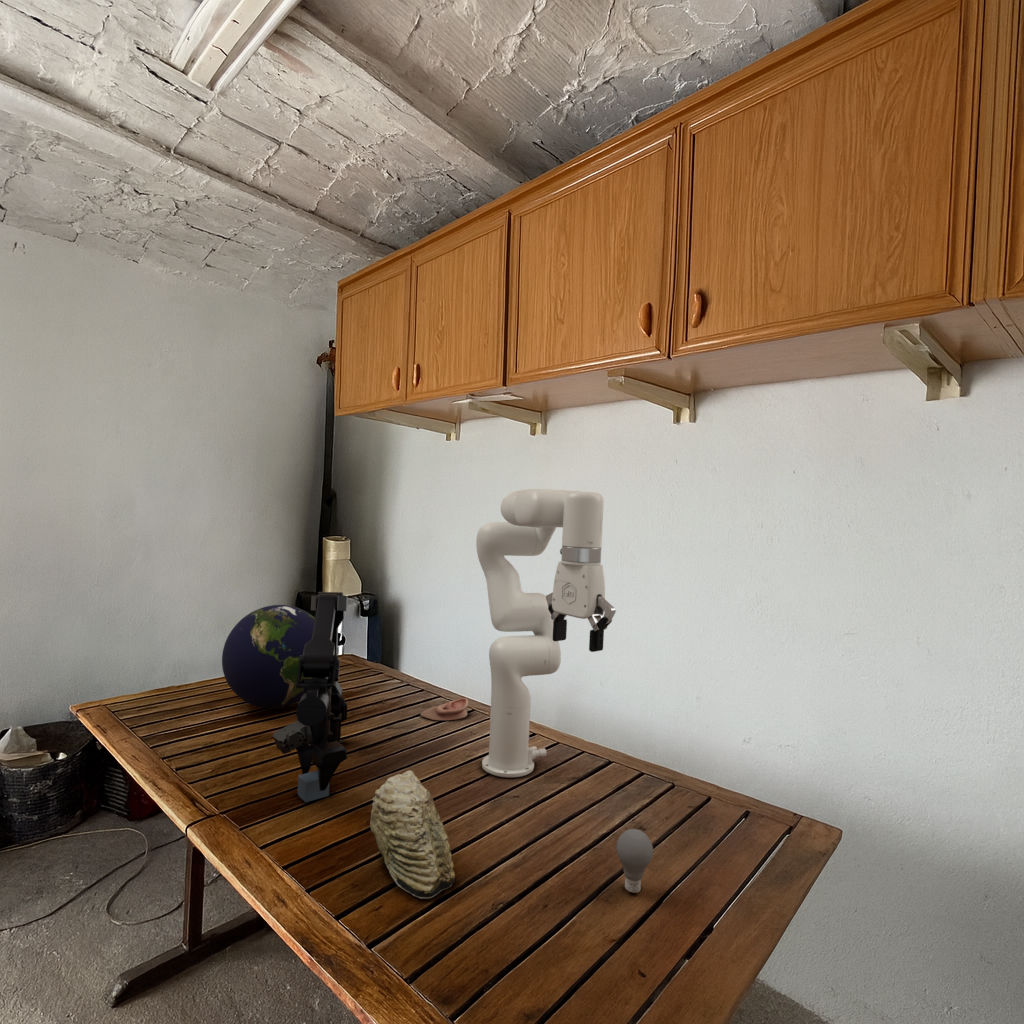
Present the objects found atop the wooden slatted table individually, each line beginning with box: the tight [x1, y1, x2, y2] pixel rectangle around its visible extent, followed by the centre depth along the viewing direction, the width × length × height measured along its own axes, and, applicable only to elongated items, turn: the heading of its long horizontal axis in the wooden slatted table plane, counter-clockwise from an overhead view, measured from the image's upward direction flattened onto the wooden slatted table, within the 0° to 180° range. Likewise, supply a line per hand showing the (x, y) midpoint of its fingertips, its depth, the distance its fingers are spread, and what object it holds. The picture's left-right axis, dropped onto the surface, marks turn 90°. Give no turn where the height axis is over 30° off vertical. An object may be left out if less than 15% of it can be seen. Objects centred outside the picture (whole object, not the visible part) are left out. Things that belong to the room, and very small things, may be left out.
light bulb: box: [615, 828, 654, 894], centre depth 106 cm, size 6×6×10 cm
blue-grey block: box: [297, 769, 331, 803], centre depth 134 cm, size 4×5×4 cm
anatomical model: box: [419, 697, 469, 721], centre depth 187 cm, size 13×4×12 cm
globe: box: [221, 604, 315, 709], centre depth 188 cm, size 30×30×30 cm
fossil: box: [369, 769, 456, 900], centre depth 109 cm, size 9×18×15 cm, turn 46°
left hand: (313, 781), depth 134 cm, fingers open, 9 cm apart
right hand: (577, 645), depth 121 cm, fingers open, 9 cm apart
